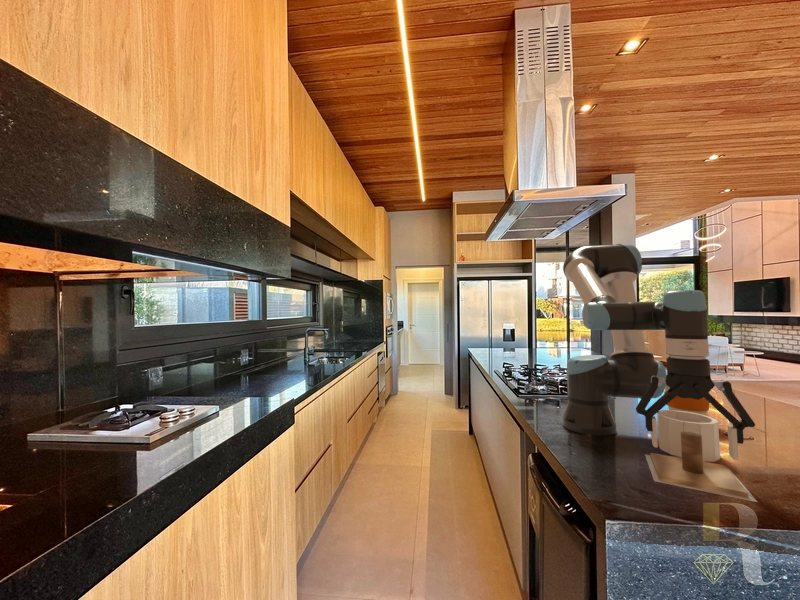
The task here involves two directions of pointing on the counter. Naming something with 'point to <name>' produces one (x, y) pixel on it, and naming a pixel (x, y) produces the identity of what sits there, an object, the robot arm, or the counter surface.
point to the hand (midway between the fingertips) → (692, 451)
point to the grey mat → (695, 487)
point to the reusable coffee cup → (688, 404)
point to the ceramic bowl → (682, 421)
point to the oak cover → (696, 469)
